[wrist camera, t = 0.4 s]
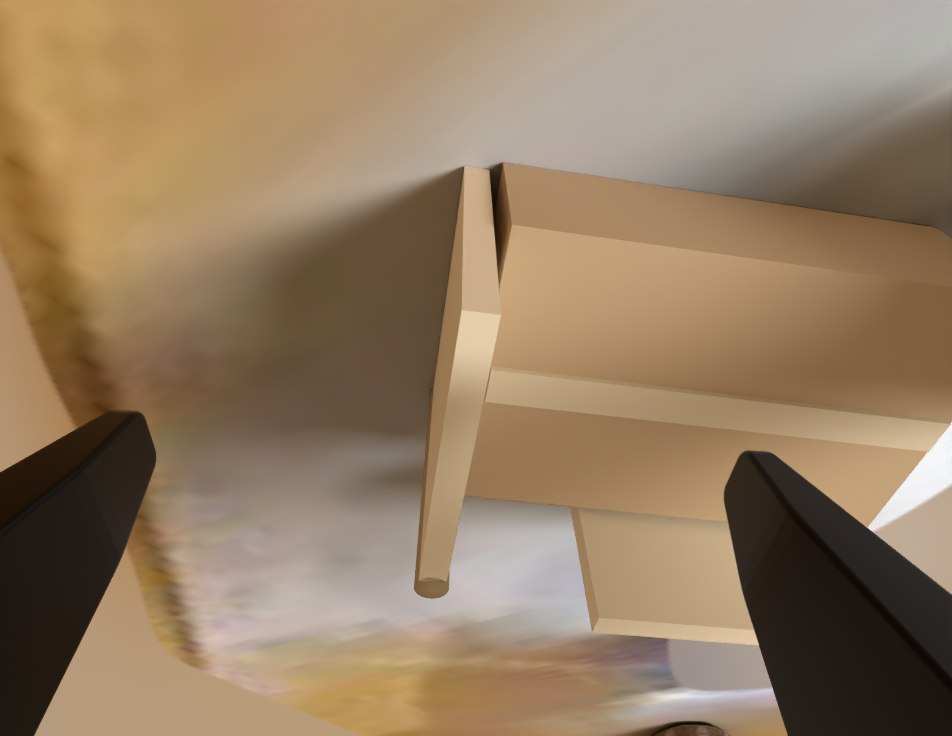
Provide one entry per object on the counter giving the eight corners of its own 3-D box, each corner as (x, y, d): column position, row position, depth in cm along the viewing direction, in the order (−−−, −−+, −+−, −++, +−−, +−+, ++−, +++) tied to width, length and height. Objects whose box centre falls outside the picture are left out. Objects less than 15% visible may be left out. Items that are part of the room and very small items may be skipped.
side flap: (803, 447, 27) (927, 642, 20) (792, 463, 27) (909, 658, 20) (562, 421, 26) (599, 615, 19) (557, 438, 26) (591, 633, 19)
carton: (936, 227, 21) (1054, 303, 17) (802, 441, 27) (864, 539, 22) (503, 162, 19) (512, 227, 15) (460, 403, 25) (458, 499, 21)
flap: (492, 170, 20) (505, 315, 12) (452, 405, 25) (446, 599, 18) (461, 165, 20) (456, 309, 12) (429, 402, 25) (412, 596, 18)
